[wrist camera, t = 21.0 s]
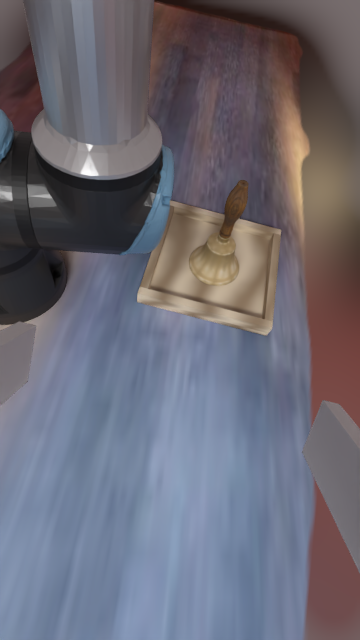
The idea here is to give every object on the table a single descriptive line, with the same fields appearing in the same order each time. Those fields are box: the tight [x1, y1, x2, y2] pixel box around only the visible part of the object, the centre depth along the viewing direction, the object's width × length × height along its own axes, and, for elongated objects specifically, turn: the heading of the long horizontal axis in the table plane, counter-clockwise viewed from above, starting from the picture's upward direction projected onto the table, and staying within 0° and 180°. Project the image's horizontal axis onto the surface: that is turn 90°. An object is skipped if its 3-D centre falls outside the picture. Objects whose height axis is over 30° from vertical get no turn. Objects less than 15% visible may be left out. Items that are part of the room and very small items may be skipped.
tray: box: [137, 200, 281, 336], centre depth 55 cm, size 20×20×2 cm
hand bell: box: [189, 180, 248, 286], centre depth 49 cm, size 8×8×16 cm
